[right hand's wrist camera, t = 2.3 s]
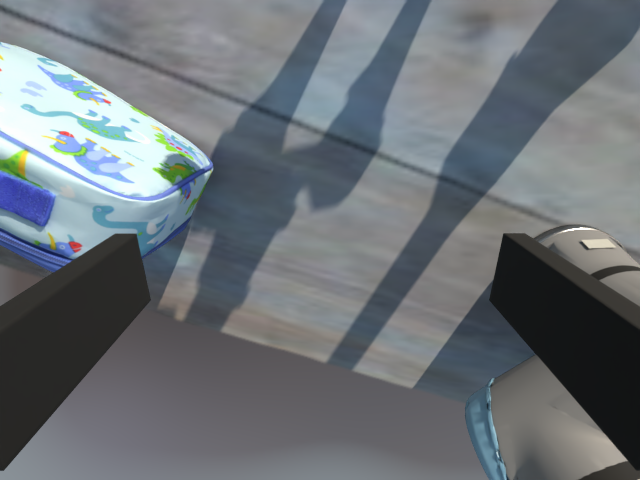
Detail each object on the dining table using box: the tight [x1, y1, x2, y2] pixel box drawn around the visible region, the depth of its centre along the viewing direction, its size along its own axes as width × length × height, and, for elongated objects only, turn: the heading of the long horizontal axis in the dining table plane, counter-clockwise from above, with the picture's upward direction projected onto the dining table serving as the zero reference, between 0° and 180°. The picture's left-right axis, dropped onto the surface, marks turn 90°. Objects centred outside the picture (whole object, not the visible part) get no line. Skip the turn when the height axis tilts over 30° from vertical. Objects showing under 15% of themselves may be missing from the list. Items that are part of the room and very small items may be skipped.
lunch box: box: [0, 42, 213, 272], centre depth 31 cm, size 26×11×21 cm, turn 59°
